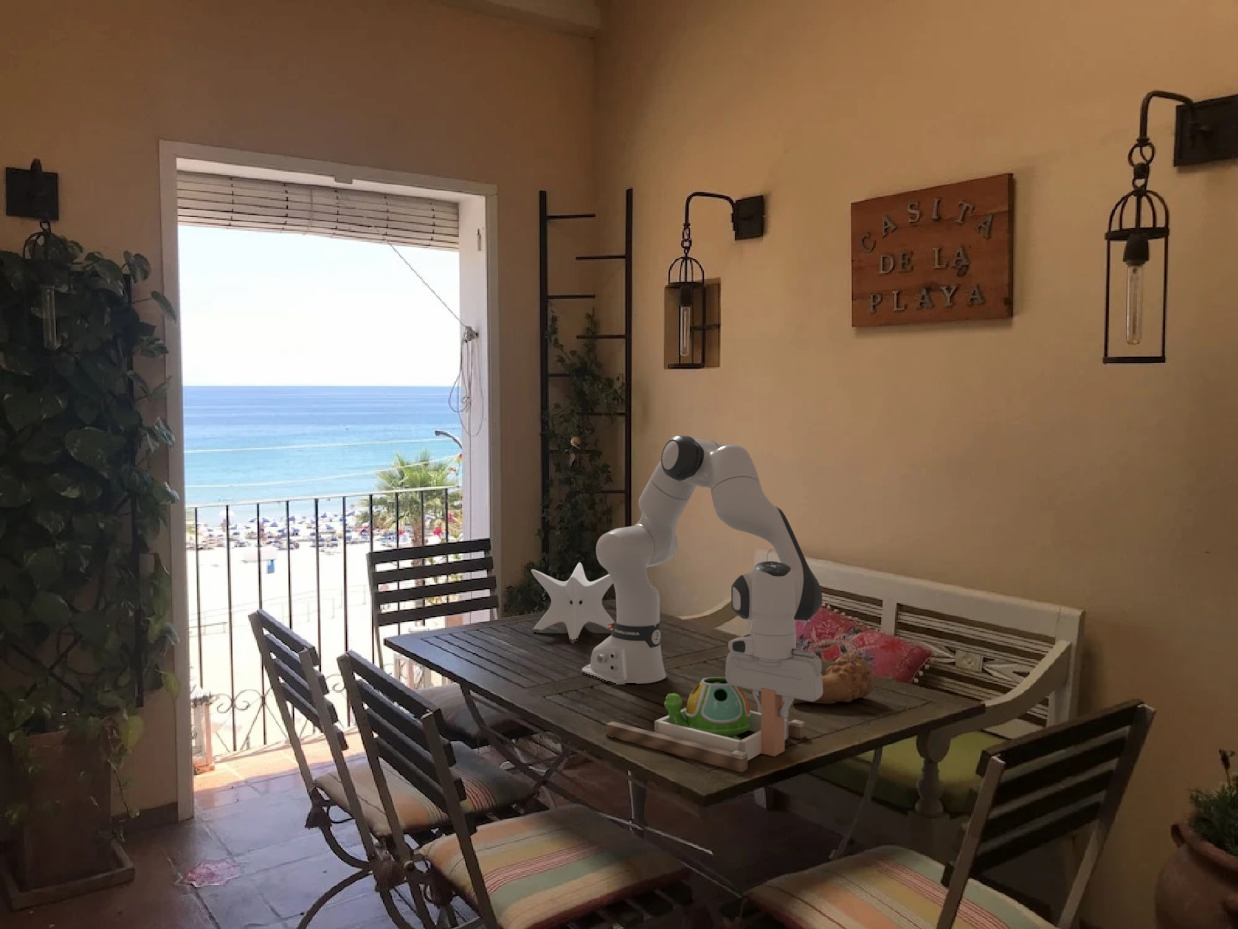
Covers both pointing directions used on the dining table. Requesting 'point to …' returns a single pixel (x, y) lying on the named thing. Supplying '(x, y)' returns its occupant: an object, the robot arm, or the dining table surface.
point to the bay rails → (691, 744)
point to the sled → (764, 724)
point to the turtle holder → (712, 708)
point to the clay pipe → (845, 680)
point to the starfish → (575, 601)
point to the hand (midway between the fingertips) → (773, 714)
